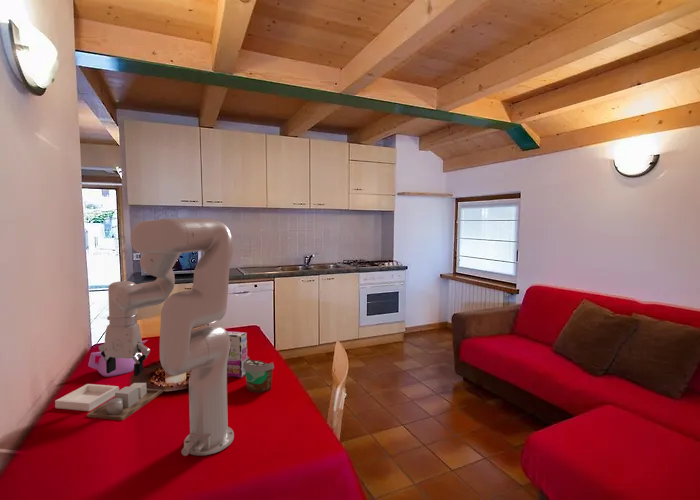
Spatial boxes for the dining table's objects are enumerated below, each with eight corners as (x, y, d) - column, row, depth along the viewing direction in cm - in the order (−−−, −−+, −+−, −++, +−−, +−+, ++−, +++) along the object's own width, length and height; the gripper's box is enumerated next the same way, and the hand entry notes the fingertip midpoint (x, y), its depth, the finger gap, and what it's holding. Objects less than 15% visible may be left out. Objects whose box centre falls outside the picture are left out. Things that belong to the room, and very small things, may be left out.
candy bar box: (248, 373, 144) (247, 332, 142) (241, 378, 139) (240, 336, 137) (222, 370, 146) (222, 329, 145) (215, 375, 141) (214, 333, 140)
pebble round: (115, 417, 110) (114, 405, 109) (103, 415, 111) (102, 404, 110) (126, 409, 114) (125, 398, 114) (114, 408, 115) (113, 397, 114)
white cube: (140, 398, 121) (140, 387, 121) (127, 398, 121) (127, 388, 121) (146, 393, 125) (146, 382, 125) (134, 393, 125) (133, 382, 125)
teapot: (151, 370, 146) (150, 342, 145) (89, 383, 134) (88, 354, 133) (145, 360, 156) (144, 334, 155) (87, 371, 144) (86, 344, 143)
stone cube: (128, 407, 115) (127, 393, 115) (115, 406, 116) (115, 392, 116) (138, 400, 120) (138, 387, 119) (126, 399, 120) (125, 386, 120)
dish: (89, 413, 113) (89, 403, 113) (55, 409, 115) (55, 400, 115) (119, 394, 125) (118, 386, 125) (87, 392, 127) (87, 383, 126)
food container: (235, 389, 130) (235, 361, 129) (248, 382, 135) (247, 356, 134) (262, 397, 124) (262, 368, 123) (274, 390, 130) (274, 362, 129)
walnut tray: (123, 422, 108) (123, 417, 108) (87, 418, 110) (86, 414, 110) (162, 393, 126) (162, 389, 126) (131, 391, 128) (130, 387, 128)
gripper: (89, 322, 113) (91, 375, 115) (140, 326, 111) (141, 380, 113) (108, 315, 121) (109, 365, 122) (156, 319, 118) (157, 370, 120)
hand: (124, 372), depth 117 cm, fingers open, 9 cm apart
